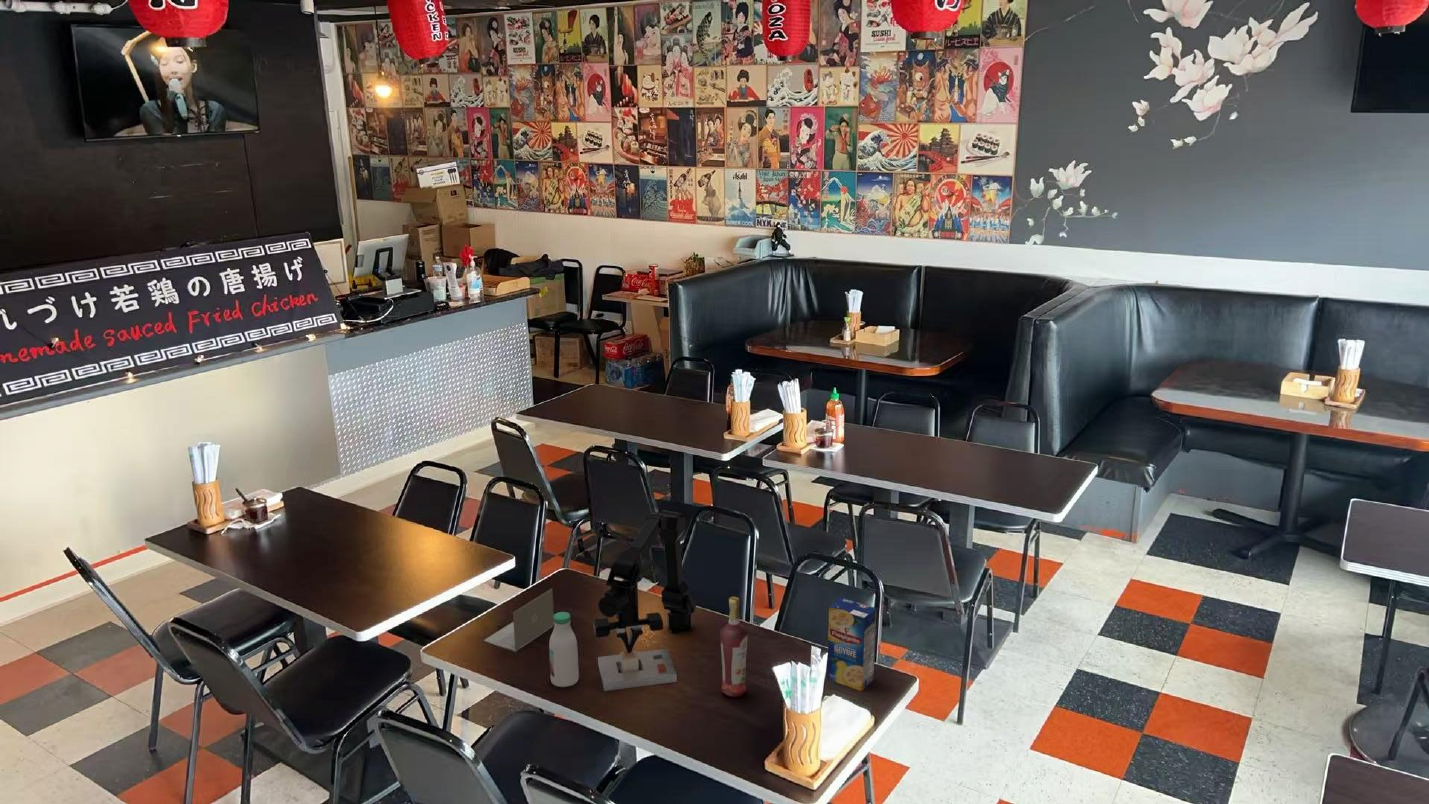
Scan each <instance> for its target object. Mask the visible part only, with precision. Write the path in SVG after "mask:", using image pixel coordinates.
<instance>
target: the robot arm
mask: <svg viewBox="0 0 1429 804" xmlns="http://www.w3.org/2000/svg"><path fill="white" fill-rule="evenodd" d="M645 520H646V521H645V523H644V525H643V526H642V527H641V529H640V531H639V532H638V533H637V535H636V537H635V538H634V539H633V542H632V543H631V544H630V546H629V547H628V548H627V549H625V550H624V551H623V550H622V551H621V552H620V553H619V554H618V556H617V557H616V558H615V559H614V561H613V562H612V564H611V566H610V571H609V573H608V577H607V579H606V582H605V585H606V586H607V587H610V589H608V590H607V591H605V592H604V596H602V597H601V598H600V600H599V602H598V610H599V611H600V612H601V614H602V615H603V616H605V617H604V618H596V619H594V621H593V623H592V624H593V630H594V631H593V632H594V634H595V637H596V638H605V637H608V636H609V635H610V634H611V630H614V633H615V636H616V638H620V639H621V640H622V642H623V644H624V647H625V649H626V651H627V652H628V653H631V651H633V648H634V647H635V644H636V642H637V640H638V638H639V636H642V635H643V634H644V632H643V627H646V626H648V628H649V630H650V631H652V632H657V631H662V630H664V620H663V618H662V615H661V614H660V612H650V613H646V614H645V618H640V617H639V590H638V589H639V584H638V583H640V582H641V581H642V578H641V576H642V573H643V570H644V566H645V565H644V560H645V558H646V556H647V554H648V553H649V551H650V550H651V548H652V546H653V545H654V544H655V541H656V540H657V538H658V536H659V537H660V538H661V539H662V540H663V549H664V550H663V551H664V560H665V562H664V563H665V573H666V575H665V576H666V584H665V586H664V588H663V589H662V590H661V592H660V594H661V603H662V607H663V609H664V610H667V611H668V612H667V613H666V615H667V616H666V619H667V623H666V624H667V627H668V629H669V630H670V633H672V634H676V633H678V634H679V633H685V632H687V633H688V632H693V627H692V614H693V613H695V610H696V607H697V601H696V600H695V599H694V598H693V597H692V596H691V591H690V587H689V586H688V584H687V583H686V582H685V580H684V570H683V560H682V557H683V556H682V544H681V537H682V536H683V535H684V533H685V530H686V523H687V520H686V517H685V515H684V514H683V513H682V512H681V513H680V512H676V511H670V510H666V509H662V510H661V511H659V512H652V513H649V514H648V515H647V517H646V519H645ZM615 578H617V579H615ZM620 579H622V580H620ZM613 617H615V618H616V620H617V621H613V622H612V621H611V622H609V619H608V618H613ZM627 629H629V636H628V633H627ZM628 637H629V638H628Z"/></svg>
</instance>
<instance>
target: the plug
mask: <svg viewBox="0 0 1429 804" xmlns="http://www.w3.org/2000/svg"><path fill="white" fill-rule="evenodd" d="M636 652H637V650H632V651H631V653H628V652H627V650H626V651H620V653H619V655H620V661H621V670H620V673H625V672H633V671H640V670H639V668H640V667H638V656H637V653H636Z"/></svg>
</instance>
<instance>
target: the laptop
mask: <svg viewBox="0 0 1429 804" xmlns="http://www.w3.org/2000/svg"><path fill="white" fill-rule="evenodd" d="M553 595H554V593H553V588H550V589H548V590H547V591H545V592H544V593H542V594H540V595H538V596H537V597H535V598H534V599H532V600H531V601H529V602H528V603H526V604H523V606H521V607H520V608H518V609H516V610H515V611H513V612H512V617H513V619H512V622H511V623H508V624H507V625H506V626H504V627H503V628H501V629H500V630H497V631H496V632H494V633H493V634H492V635H490V636H488V637H487V638H485V639H484V640H483V642H485V643H488V644H491V645H495V646H496V647H499V648H503V649H505V650H509V651H512V652H518V651H519V650H520V649H523V648H524V647H525V646H526V645H528V644H529V643H531V642H533V641H534V640H535V639H537V638H538V637H540V636H541V635H543V634H544V633H546V632H547V631H549V630H550V629H552V628H554V626H555V625H554V621H553V616H554V615H555V613H554V598H553Z"/></svg>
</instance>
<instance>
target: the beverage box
mask: <svg viewBox="0 0 1429 804" xmlns="http://www.w3.org/2000/svg"><path fill="white" fill-rule="evenodd" d="M876 630H877V607H874V606H871V605H867V604H864V603H861V602H857V601H855V600H850V599H848V598H844V597H840V598H839V599H838V600H837V601H835V602H834V603H832V604H831V605H830V606H828V631H827V632H828V638H827V665H826V666H827V667H826V668H827V669H826V672H827V673H826V679H827V680H829V681H831V682H835V683H837V684H840V685H844V686H847V687H848V688H852V689H854V690H857V691H861V692H863V690H865V689H866V688H867V687H868V686H869V685H870V684H871V683H872V682H873V681H874V678H875V677H874V676H875V674H874V673H875V655H876V653H875V651H876Z"/></svg>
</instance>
